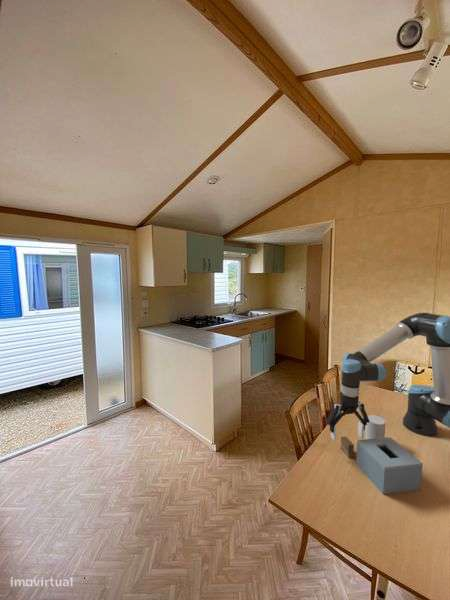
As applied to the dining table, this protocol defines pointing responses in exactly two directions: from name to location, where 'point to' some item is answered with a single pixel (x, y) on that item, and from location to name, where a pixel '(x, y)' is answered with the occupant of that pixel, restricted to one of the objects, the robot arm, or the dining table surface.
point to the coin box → (389, 465)
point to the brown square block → (347, 446)
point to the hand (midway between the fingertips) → (346, 437)
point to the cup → (375, 427)
